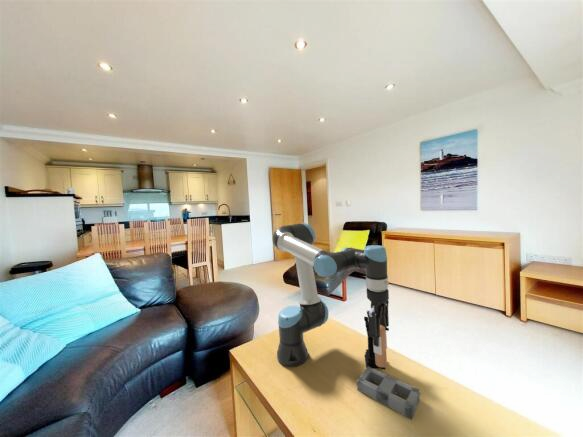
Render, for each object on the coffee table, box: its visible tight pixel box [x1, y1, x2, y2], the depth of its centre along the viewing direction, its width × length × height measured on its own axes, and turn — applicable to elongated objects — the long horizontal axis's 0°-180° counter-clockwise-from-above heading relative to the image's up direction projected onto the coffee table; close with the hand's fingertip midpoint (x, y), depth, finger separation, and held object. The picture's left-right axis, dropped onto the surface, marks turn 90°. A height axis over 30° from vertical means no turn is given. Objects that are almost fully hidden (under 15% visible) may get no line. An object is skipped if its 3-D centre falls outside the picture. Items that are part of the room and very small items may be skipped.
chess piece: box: [363, 316, 386, 370], centre depth 107 cm, size 8×8×20 cm
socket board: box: [356, 366, 421, 420], centre depth 90 cm, size 20×10×4 cm, turn 48°
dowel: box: [375, 325, 388, 368], centre depth 86 cm, size 4×4×14 cm
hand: (380, 350), depth 86 cm, fingers closed on dowel, 4 cm apart
